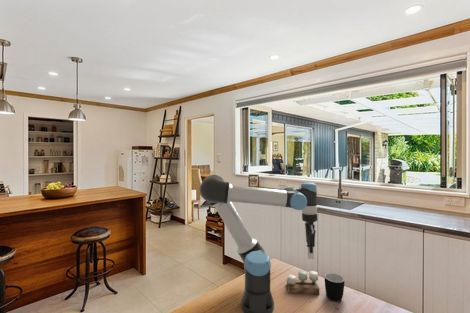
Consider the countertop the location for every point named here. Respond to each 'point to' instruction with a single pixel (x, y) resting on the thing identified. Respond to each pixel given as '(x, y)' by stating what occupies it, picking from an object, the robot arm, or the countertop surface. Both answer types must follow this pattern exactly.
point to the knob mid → (302, 276)
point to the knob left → (291, 279)
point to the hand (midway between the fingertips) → (310, 258)
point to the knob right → (313, 276)
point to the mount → (303, 287)
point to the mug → (334, 286)
